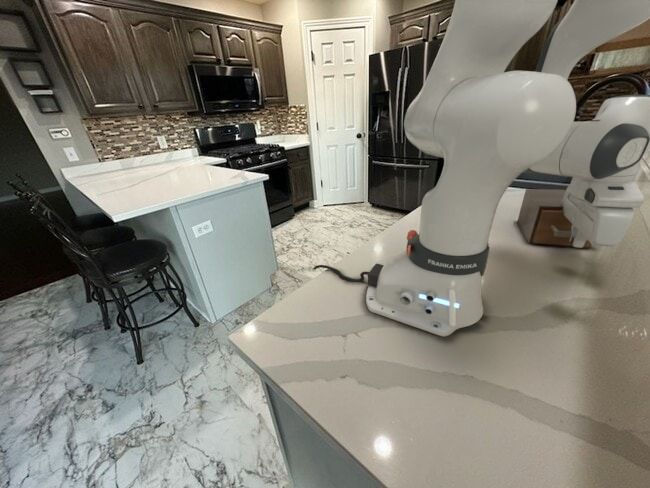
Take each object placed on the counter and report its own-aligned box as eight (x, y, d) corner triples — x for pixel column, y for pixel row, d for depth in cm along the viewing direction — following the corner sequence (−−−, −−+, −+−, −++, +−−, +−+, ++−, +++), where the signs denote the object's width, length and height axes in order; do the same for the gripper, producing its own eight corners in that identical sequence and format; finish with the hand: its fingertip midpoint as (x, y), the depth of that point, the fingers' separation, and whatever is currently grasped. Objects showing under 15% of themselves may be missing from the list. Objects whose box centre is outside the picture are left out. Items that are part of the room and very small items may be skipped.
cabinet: (589, 248, 65) (607, 208, 60) (528, 243, 70) (539, 205, 65) (568, 224, 77) (581, 189, 72) (517, 222, 81) (525, 189, 77)
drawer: (599, 257, 60) (615, 222, 56) (538, 251, 64) (549, 218, 60) (569, 225, 75) (580, 195, 71) (521, 222, 79) (529, 194, 75)
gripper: (562, 173, 63) (545, 225, 69) (601, 200, 46) (574, 266, 53) (596, 173, 60) (575, 227, 66) (651, 202, 44) (616, 270, 50)
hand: (575, 245), depth 59 cm, fingers closed
